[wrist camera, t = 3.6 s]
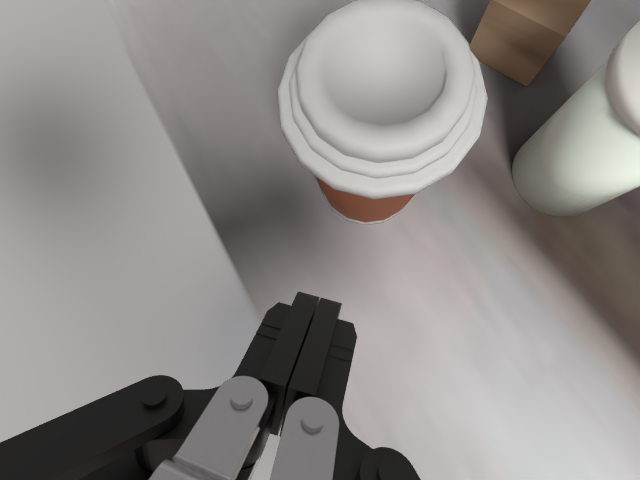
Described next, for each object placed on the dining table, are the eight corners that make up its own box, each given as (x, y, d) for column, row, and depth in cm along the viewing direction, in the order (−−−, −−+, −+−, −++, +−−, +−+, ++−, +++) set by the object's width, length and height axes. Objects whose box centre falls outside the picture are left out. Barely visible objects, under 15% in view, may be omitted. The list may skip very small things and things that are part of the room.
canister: (556, 113, 27) (695, -27, 16) (628, 178, 26) (833, 74, 15) (488, 169, 26) (587, 63, 16) (559, 239, 25) (720, 175, 14)
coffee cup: (454, 219, 26) (546, 132, 14) (325, 262, 26) (308, 210, 14) (405, 103, 28) (450, -56, 16) (285, 143, 28) (242, 11, 16)
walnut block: (500, 6, 29) (532, -58, 24) (561, 36, 28) (606, -23, 23) (465, 54, 28) (490, -2, 24) (526, 87, 28) (565, 37, 23)
